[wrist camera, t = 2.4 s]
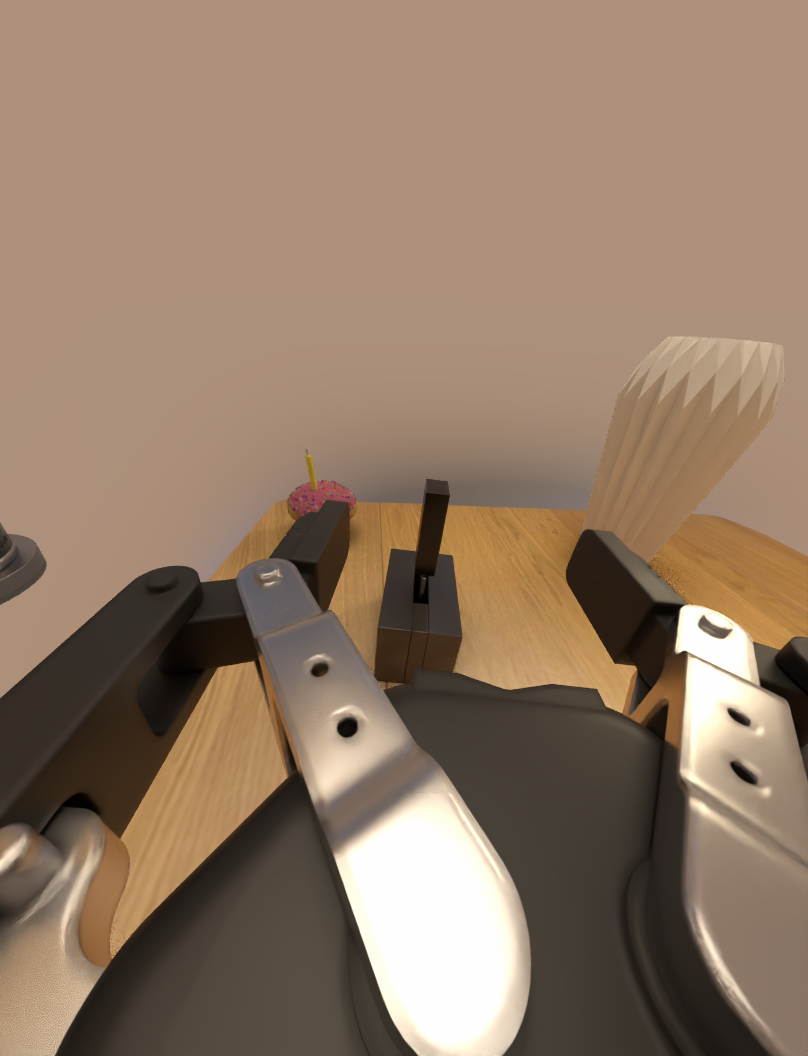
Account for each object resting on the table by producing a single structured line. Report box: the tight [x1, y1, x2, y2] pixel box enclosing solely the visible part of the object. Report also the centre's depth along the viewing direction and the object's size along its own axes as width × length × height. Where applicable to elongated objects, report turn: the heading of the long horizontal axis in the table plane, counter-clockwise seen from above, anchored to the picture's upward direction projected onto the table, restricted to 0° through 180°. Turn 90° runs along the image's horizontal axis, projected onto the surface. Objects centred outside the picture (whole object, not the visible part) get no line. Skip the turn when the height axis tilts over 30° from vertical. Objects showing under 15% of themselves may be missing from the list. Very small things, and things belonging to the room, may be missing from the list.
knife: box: [414, 479, 450, 604], centre depth 26 cm, size 2×3×15 cm, turn 176°
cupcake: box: [288, 449, 357, 520], centre depth 40 cm, size 9×8×12 cm
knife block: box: [374, 549, 462, 684], centre depth 28 cm, size 6×10×6 cm, turn 177°
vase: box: [579, 336, 785, 564], centre depth 38 cm, size 13×13×26 cm
